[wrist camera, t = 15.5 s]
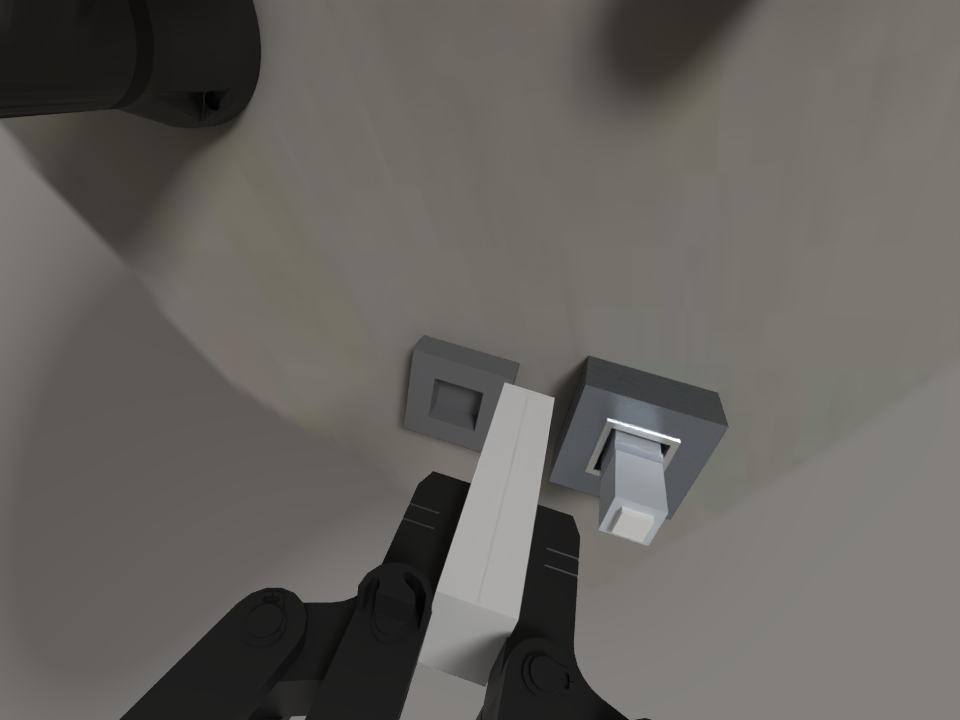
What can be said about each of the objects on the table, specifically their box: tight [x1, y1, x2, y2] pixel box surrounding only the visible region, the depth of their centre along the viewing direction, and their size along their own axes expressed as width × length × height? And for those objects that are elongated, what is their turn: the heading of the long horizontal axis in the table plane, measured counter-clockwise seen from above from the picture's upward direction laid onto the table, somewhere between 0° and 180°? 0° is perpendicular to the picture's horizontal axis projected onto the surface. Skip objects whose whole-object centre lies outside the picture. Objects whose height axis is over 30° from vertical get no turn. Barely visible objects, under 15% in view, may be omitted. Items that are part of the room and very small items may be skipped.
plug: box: [598, 428, 668, 546], centre depth 41 cm, size 4×4×13 cm
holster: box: [403, 335, 519, 452], centre depth 49 cm, size 10×10×3 cm
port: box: [549, 356, 729, 520], centre depth 45 cm, size 12×12×6 cm
